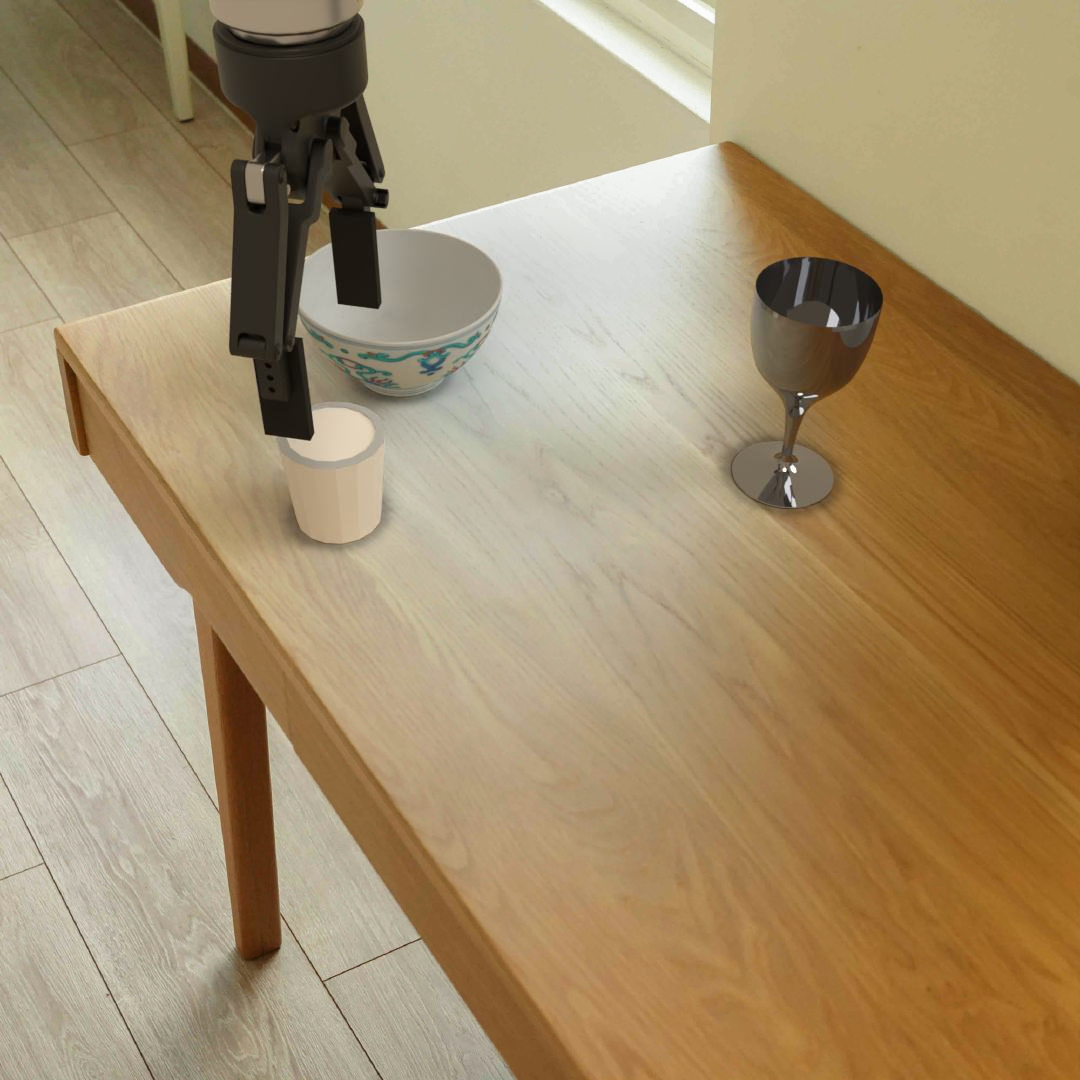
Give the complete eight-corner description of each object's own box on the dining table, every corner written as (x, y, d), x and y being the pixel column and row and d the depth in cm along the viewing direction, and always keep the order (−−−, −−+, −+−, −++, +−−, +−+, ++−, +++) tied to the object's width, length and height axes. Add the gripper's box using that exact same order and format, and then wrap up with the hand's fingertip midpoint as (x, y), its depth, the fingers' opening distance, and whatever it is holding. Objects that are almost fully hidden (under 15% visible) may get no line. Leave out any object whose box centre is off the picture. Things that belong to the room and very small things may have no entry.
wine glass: (853, 457, 96) (897, 275, 85) (821, 525, 90) (864, 340, 80) (746, 426, 98) (777, 245, 88) (709, 490, 93) (737, 306, 82)
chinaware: (262, 362, 102) (250, 274, 96) (418, 292, 109) (415, 207, 104) (383, 460, 94) (377, 370, 89) (542, 378, 101) (546, 290, 96)
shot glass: (411, 507, 90) (408, 425, 86) (345, 565, 86) (337, 482, 81) (333, 468, 93) (325, 386, 88) (265, 522, 89) (252, 440, 84)
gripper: (297, -78, 76) (330, 250, 91) (109, 118, 58) (188, 488, 73) (425, -66, 75) (438, 264, 90) (274, 137, 57) (321, 508, 72)
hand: (326, 365), depth 81 cm, fingers open, 13 cm apart
